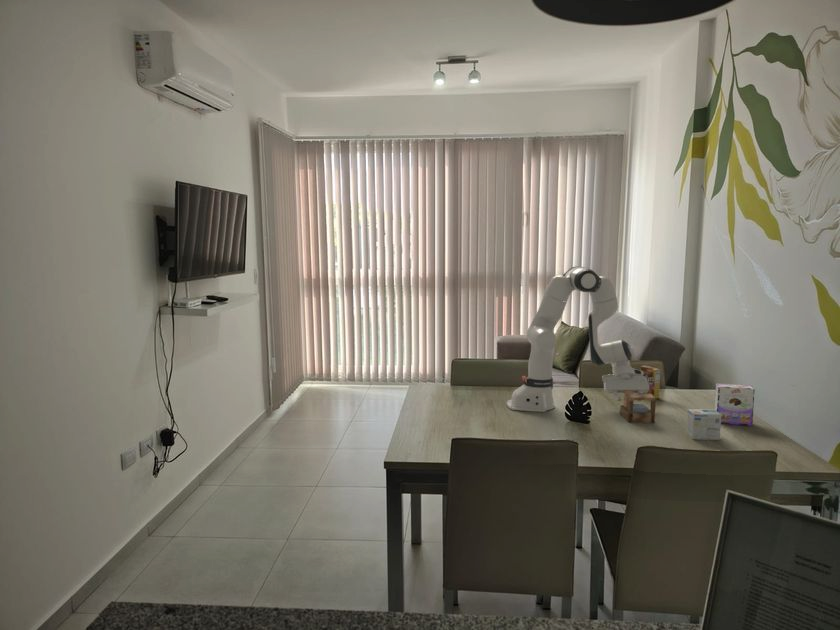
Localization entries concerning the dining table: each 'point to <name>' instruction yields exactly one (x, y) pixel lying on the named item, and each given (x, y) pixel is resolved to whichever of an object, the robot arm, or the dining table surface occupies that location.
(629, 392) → the tethered block
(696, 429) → the light bulb box
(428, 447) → the dining table surface
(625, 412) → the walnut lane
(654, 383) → the candy box
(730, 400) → the candy box
